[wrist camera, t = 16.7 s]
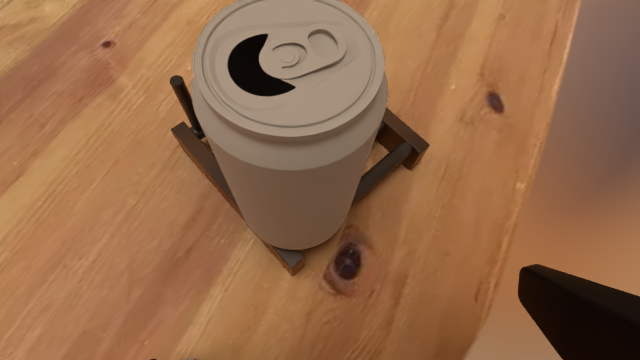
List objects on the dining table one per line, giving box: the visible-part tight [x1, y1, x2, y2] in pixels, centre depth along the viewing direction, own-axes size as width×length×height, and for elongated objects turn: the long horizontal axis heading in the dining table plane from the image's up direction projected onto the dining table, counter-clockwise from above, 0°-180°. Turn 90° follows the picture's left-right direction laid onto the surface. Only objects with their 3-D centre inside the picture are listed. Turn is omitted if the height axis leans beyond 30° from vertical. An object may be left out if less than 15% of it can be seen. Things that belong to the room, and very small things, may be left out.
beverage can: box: [191, 0, 388, 250], centre depth 16 cm, size 6×6×12 cm
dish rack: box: [170, 75, 430, 276], centre depth 22 cm, size 12×12×7 cm
